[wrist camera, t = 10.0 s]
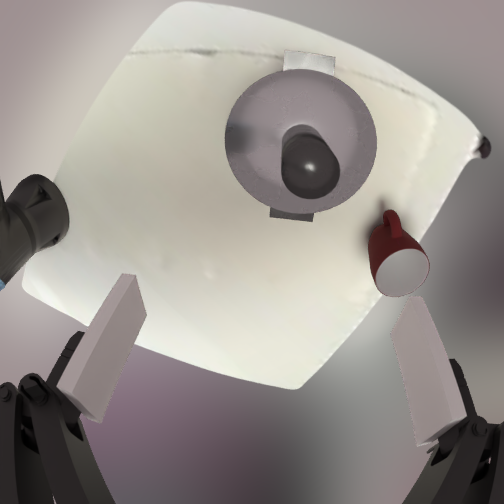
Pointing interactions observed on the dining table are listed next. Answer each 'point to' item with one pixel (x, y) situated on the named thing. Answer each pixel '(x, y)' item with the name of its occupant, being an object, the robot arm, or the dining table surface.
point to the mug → (396, 258)
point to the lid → (300, 141)
